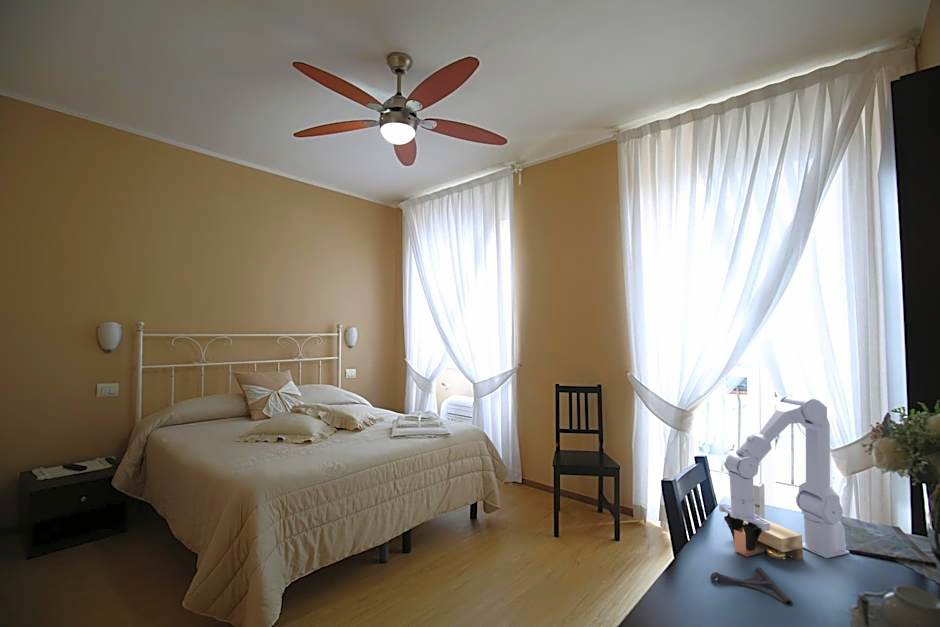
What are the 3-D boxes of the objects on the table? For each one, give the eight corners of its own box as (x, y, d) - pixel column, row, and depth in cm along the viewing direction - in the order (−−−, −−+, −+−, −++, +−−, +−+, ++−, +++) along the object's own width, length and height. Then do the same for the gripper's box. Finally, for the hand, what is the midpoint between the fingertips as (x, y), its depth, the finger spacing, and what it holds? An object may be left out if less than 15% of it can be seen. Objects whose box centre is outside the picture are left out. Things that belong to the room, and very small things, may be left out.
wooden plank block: (753, 535, 132) (752, 513, 132) (803, 559, 118) (801, 535, 118) (734, 538, 130) (733, 517, 130) (783, 563, 116) (781, 539, 116)
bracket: (701, 568, 115) (701, 558, 115) (762, 573, 112) (761, 562, 112) (723, 601, 101) (722, 589, 101) (793, 608, 98) (792, 595, 98)
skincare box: (740, 517, 145) (738, 481, 146) (746, 514, 148) (744, 478, 148) (760, 523, 140) (758, 486, 141) (766, 520, 143) (764, 483, 143)
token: (767, 550, 123) (767, 544, 123) (786, 555, 120) (786, 549, 120) (766, 556, 120) (765, 550, 120) (785, 561, 117) (785, 555, 117)
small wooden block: (763, 544, 126) (762, 523, 126) (775, 549, 123) (774, 528, 123) (734, 550, 122) (734, 529, 122) (746, 556, 119) (745, 534, 119)
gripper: (710, 490, 128) (712, 536, 127) (755, 508, 114) (757, 561, 113) (728, 487, 130) (730, 533, 129) (774, 505, 116) (777, 556, 115)
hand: (744, 546), depth 121 cm, fingers closed on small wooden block, 4 cm apart
